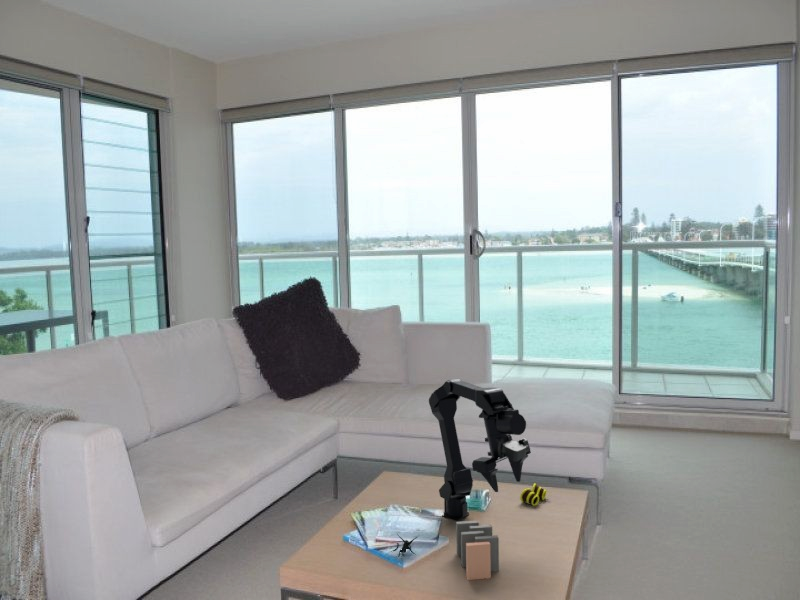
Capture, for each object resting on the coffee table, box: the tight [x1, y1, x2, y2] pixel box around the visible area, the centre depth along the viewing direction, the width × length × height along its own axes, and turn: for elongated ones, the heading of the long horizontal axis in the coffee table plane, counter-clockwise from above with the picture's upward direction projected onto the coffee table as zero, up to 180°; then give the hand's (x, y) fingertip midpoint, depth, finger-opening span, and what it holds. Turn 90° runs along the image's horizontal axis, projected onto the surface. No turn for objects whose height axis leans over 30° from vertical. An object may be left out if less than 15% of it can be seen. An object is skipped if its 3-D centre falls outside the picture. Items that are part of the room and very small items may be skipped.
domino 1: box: [469, 524, 493, 536], centre depth 177 cm, size 1×6×9 cm, turn 96°
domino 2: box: [455, 520, 480, 557], centre depth 180 cm, size 1×6×9 cm, turn 96°
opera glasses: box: [519, 483, 547, 507], centre depth 217 cm, size 10×5×5 cm, turn 141°
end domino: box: [465, 542, 492, 581], centre depth 167 cm, size 1×6×9 cm, turn 96°
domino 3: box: [460, 531, 484, 568], centre depth 174 cm, size 1×6×9 cm, turn 96°
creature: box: [392, 533, 418, 558], centre depth 180 cm, size 8×5×8 cm
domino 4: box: [475, 535, 500, 572], centre depth 171 cm, size 1×6×9 cm, turn 96°
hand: (507, 486), depth 187 cm, fingers open, 9 cm apart
